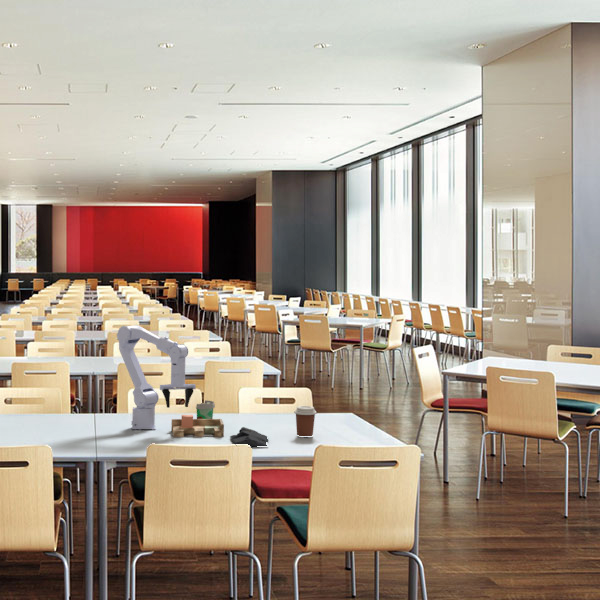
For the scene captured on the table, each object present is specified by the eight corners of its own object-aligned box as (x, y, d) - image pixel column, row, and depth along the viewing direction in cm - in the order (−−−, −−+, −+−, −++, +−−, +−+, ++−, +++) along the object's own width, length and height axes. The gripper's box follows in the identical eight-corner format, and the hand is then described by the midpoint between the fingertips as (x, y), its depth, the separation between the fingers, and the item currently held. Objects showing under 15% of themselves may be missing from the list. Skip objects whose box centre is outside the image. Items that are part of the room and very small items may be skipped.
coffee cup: (290, 435, 343) (290, 406, 343) (310, 433, 347) (311, 405, 347) (298, 439, 335) (299, 409, 335) (319, 438, 339) (320, 408, 338)
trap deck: (172, 437, 333) (172, 424, 333) (171, 431, 346) (171, 419, 346) (223, 436, 336) (223, 424, 336) (221, 430, 349) (221, 418, 349)
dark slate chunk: (229, 449, 314) (229, 436, 314) (230, 438, 336) (230, 426, 336) (270, 449, 316) (270, 437, 315) (268, 438, 338) (268, 426, 337)
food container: (209, 428, 354) (210, 404, 354) (195, 427, 356) (196, 404, 355) (218, 423, 367) (218, 400, 366) (204, 422, 368) (205, 400, 368)
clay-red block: (181, 427, 340) (181, 416, 340) (181, 425, 345) (181, 414, 345) (192, 427, 341) (193, 416, 341) (192, 425, 346) (192, 414, 346)
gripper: (162, 375, 337) (161, 409, 338) (197, 374, 343) (196, 407, 343) (158, 373, 344) (158, 406, 344) (193, 372, 349) (192, 405, 350)
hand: (177, 407), depth 344 cm, fingers open, 7 cm apart
